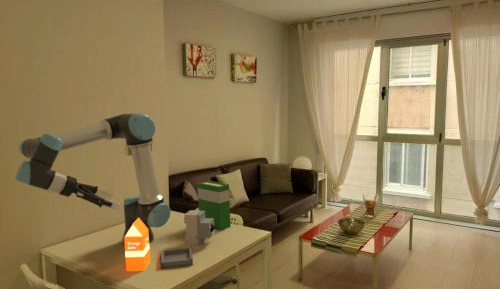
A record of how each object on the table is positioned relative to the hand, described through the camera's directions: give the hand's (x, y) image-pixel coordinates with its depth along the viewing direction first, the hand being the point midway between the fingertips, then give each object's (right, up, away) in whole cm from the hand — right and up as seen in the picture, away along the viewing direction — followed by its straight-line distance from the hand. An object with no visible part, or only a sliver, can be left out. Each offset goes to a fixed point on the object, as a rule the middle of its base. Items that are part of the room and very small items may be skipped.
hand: (115, 201), depth 151 cm
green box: (+36, -22, +55) cm, 69 cm away
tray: (+24, -27, +10) cm, 37 cm away
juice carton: (+8, -28, +5) cm, 30 cm away
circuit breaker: (+32, -25, +30) cm, 50 cm away
